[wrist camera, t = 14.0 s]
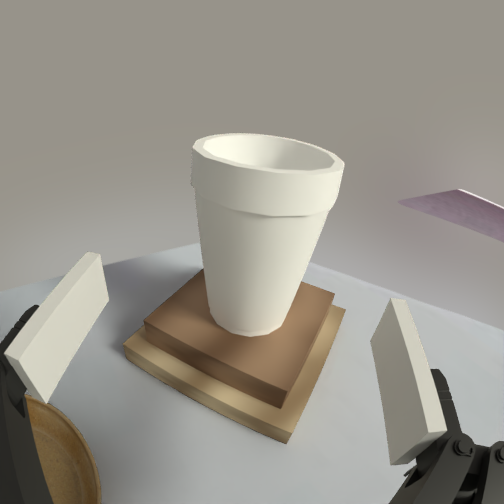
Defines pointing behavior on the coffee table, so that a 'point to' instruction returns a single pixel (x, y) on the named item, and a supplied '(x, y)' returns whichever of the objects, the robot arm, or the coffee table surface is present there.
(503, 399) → the coffee table surface
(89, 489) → the plant saucer
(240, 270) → the foam cup
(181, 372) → the plinth
